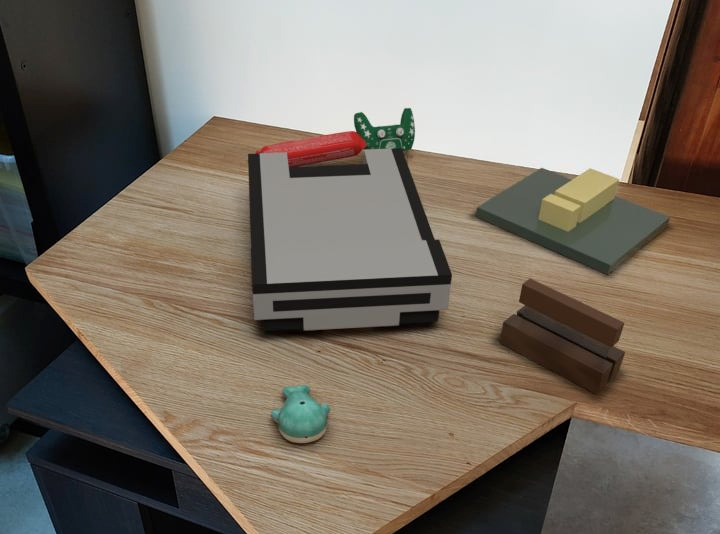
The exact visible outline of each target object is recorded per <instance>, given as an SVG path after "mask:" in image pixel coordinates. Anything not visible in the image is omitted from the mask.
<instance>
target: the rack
mask: <svg viewBox="0 0 720 534" xmlns="http://www.w3.org/2000/svg"><path fill="white" fill-rule="evenodd" d="M524 307H525V305H523V306H522V307H520V308H519V309H518V310H517V311H516V314H515V313H513V314H511V315H510V316H509V317H508V318H506V319H505V320H503V322H502V326H501V327H502V328H501V332H500V337H499V342H498V343H499V344H500V345H503V346H504V347H506V348H508V349H510V350H512V351H513V352H515V353H517V354H519V355H521V356H523V357H524V358H527V359H528V360H530V361H532V362H534V363H535V364H538V365H540V366H541V367H544V368H545V369H547V370H549V371H550V372H553V373H554V374H557V375H559V376H561V377H562V378H564V379H566V380H568V381H570V382H572V383H573V384H575V385H577V386H579V387H581V388H583V389H585V390H586V391H589V392H590V393H592V394H594V395H597V394H598V393H600V392H602V391H601V390H603V389H604V388H605V387H606V386H607V383H610V382H611V381H612V380H613V379H615V377H616V376H617V375H618V374H619V372H620V369H621V366H622V365H623V361H624V358H625V355H626V351H625V350H622V349H620V348H619V347H616V346H615V345H614V346H613V347H612V348H611V347H610V348H609V351H608V354H607V357H606V360H604V359H602V358H600V357H598V356H596V355H594V354H592V353H591V352H589V351H587V350H585V349H583V348H581V347H579V346H577V345H575V344H573V343H571V342H569V341H567V340H565V339H563V338H561V337H559V336H557V335H555V334H553V333H551V332H549V331H547V330H545V329H543V328H541V327H539V326H537V325H535V324H533V323H531V322H529V321H527V320H525V319H523V318H522V316H523V312H524Z"/></svg>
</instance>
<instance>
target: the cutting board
mask: <svg viewBox="0 0 720 534" xmlns="http://www.w3.org/2000/svg"><path fill="white" fill-rule="evenodd" d="M573 179H574V178H570V177H568V176H565V175H562V174H560V173H557V172H554V171H552V170H549V169H546V168H544V167H540V168H538V169H536V171H533V172H532V173H530V174H529V175H527V176H526V177H523V178H522V179H520V180H519V181H517V182H516V183H514V184H512V185H511V186H509V187H507V188H506V189H504V190H502V191H500V192H499V193H498V194H496V195H494V196H492V197H491V198H489V199H488V200H486V201H484V202H483V203H481V204H479V205H477V206H476V210H475V217H476V218H478V219H480V220H482V221H485V222H486V223H488V224H491V225H493V226H496V227H497V228H500V229H502V230H505V231H507V232H510V233H512V234H514V235H516V236H518V237H521V238H523V239H525V240H528V241H530V242H532V243H534V244H536V245H539V246H541V247H543V248H545V249H548V250H550V251H553V252H555V253H557V254H559V255H561V256H564V257H566V258H568V259H570V260H572V261H575V262H578V263H579V264H582V265H584V266H587V267H589V268H591V269H593V270H595V271H598V272H600V273H602V274H604V275H607V276H608V275H609V274H611V273H612V272H614V271H615V270H616V269H617V268H618V267H620V266H621V265H622V264H624V262H625V261H627V260H628V259H629V258H631V257H632V256H633V255H634V254H636V253H637V252H638V251H639V250H640V249H642V248H643V247H644V246H645V245H647V244H648V243H649V242H650V241H651V240H652V239H654V238H655V237H656V236H657V235H659V234H660V233H661V232H662V231H664V230H665V229H666V228H668V225H669V222H670V220H671V216H669V215H667V214H664V213H662V212H659V211H657V210H654V209H651V208H649V207H645V206H643V205H640V204H638V203H635V202H632V201H631V200H627V199H626V198H623V197H620V196H617V195H615V197H614V199H613V200H612V201H610V202H609V203H608V204H606V205H605V206H603V207H602V208H601V209H599V210H598V211H596V212H595V213H594V214H592V215H591V216H589V217H588V218H587V219H585V220H584V221H582V222H581V223H578V222H577V224H576V227H574V228H573V229H571V230H570V231H569V232H567V231H565V230H562V229H560V228H557V227H555V226H553V225H550V224H548V223H546V222H543V221H541V220H539V219H538V218H539V213H540V209H541V204H542V199H543V198H545V197H547V196H548V195H550V194H553V195H554V193H555V191H556V190H557V189H559V188H560V187H562V186H564V185H565V184H567V183H568V182H570V181H571V180H573Z"/></svg>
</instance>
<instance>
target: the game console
mask: <svg viewBox="0 0 720 534" xmlns="http://www.w3.org/2000/svg"><path fill="white" fill-rule="evenodd" d="M247 166H248V167H247V168H248V171H247V172H248V198H249V201H248V203H249V231H250V233H249V234H250V269H251V270H250V271H251V273H250V274H251V291H252V306H253V317H254V321H262V326H263V327H262V328H263V333H264V334H274V333H275V334H276V333H293V332H294V333H295V332H313V331H319V330H334V329H335V330H336V329H338V330H339V329H355V328H373V327H374V328H375V327H381V328H383V327H385V328H386V327H402V326H405V327H406V326H423V325H424V326H425V325H434V323H438V322H439V316H440V311H448V308H449V302H450V294H451V285H452V278H453V274H452V270H451V268H450V265H449V263H448V259H447V256H446V255H445V251H444V249H443V245H442V243H441V241H440V239H435V236H434V233H433V230H432V228H431V225H430V223H429V218H428V216H427V214H426V212H425V209H424V206H423V203H422V200H421V197H420V195H419V191H418V189H417V186H416V183H415V180H414V177H413V175H412V172H411V169H410V167H409V164H408V161H407V158H406V156H405V152H403V150H402V148H394V149H366V150H364V149H363V162H362V163H353V164H327V165H325V164H324V165H303V166H297V167H288V158H287V152H284V153H256V152H255V153H247Z"/></svg>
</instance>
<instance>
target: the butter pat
mask: <svg viewBox="0 0 720 534" xmlns="http://www.w3.org/2000/svg"><path fill="white" fill-rule="evenodd" d="M580 208H581V206H580V205H578V204H575V203H573V202H570V201H568V200H565V199H563V198H560V197H558V196H555V195H553V194H550V195H548V196H547V197H545V198H543V199H542V204H541V209H540V213H539V218H538V219H539V220H541V221H543V222H546V223H548V224H550V225H553V226H555V227H557V228H560V229H562V230H565V231H567V232H569V231H570V230H571V229H573V228H574V227H576V224H577V220H578V216H579V212H580Z"/></svg>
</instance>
